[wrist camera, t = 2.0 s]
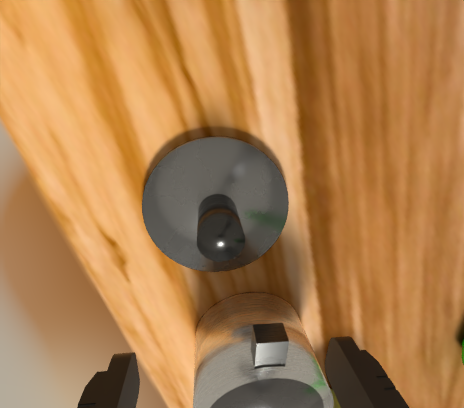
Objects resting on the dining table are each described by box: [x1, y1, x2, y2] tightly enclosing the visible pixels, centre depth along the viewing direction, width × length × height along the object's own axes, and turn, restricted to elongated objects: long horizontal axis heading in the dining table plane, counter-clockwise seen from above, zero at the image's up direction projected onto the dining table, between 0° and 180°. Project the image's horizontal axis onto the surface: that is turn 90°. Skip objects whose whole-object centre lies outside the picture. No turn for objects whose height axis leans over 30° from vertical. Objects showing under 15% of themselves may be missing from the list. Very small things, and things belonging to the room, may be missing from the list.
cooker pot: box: [193, 292, 334, 408], centre depth 28 cm, size 25×13×9 cm, turn 178°
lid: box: [142, 136, 289, 272], centre depth 22 cm, size 14×14×6 cm
